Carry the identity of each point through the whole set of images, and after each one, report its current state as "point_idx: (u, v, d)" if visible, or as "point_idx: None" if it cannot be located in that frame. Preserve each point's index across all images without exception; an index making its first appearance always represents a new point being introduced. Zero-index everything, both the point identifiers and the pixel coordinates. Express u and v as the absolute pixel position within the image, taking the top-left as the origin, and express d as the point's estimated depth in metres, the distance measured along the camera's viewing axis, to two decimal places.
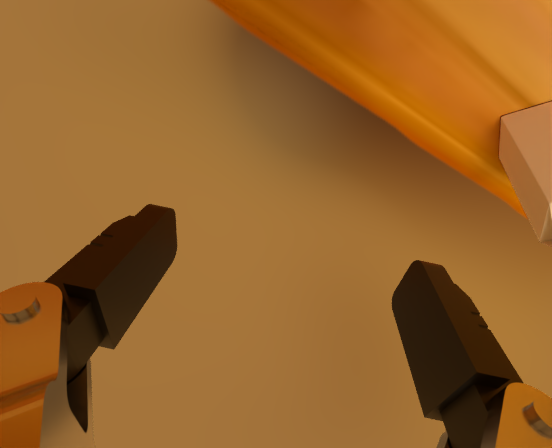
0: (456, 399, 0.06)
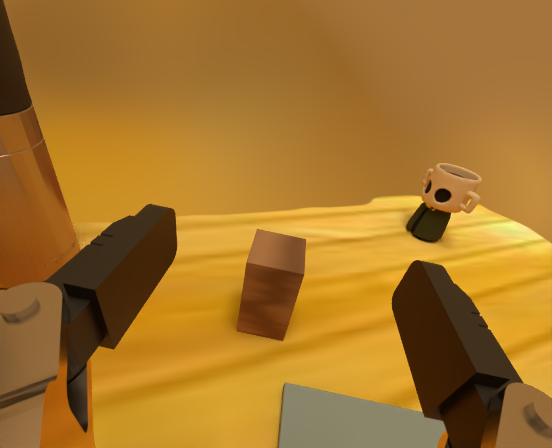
0: (456, 399, 0.06)
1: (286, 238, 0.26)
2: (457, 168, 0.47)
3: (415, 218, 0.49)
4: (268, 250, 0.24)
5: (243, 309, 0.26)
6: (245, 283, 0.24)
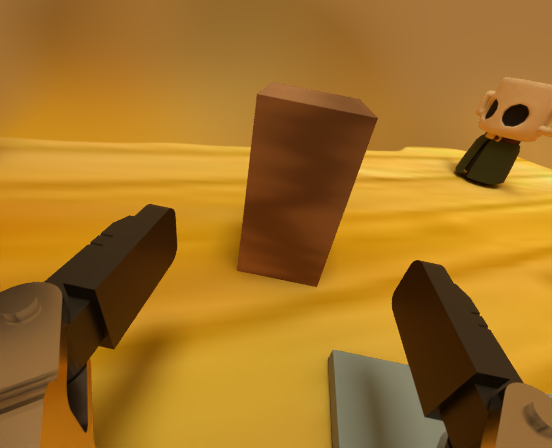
0: (456, 399, 0.06)
1: (326, 93, 0.15)
2: None
3: (469, 157, 0.38)
4: (298, 94, 0.13)
5: (249, 222, 0.14)
6: (253, 155, 0.12)
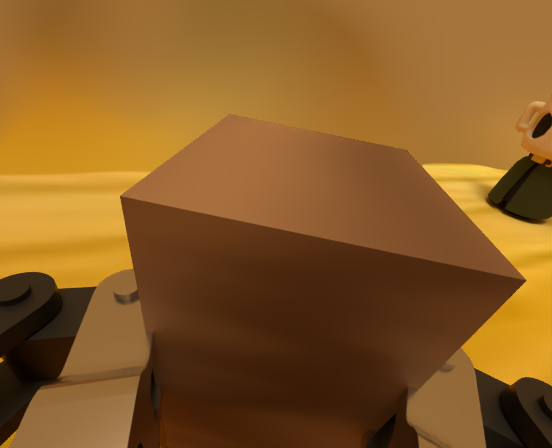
0: None
1: (339, 141, 0.07)
2: None
3: (509, 184, 0.30)
4: (273, 162, 0.05)
5: (175, 416, 0.07)
6: (153, 326, 0.05)
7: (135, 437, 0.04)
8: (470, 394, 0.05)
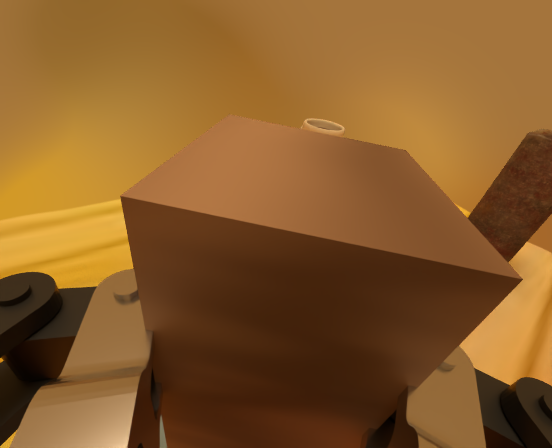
0: None
1: (338, 141, 0.07)
2: (325, 122, 0.47)
3: None
4: (272, 163, 0.05)
5: (174, 415, 0.07)
6: (153, 325, 0.05)
7: (135, 437, 0.04)
8: (470, 394, 0.05)
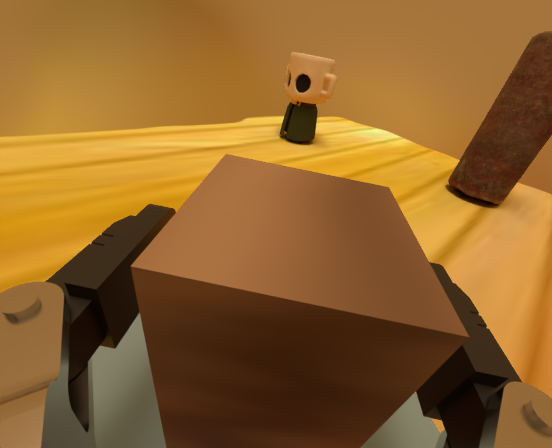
0: (455, 398, 0.06)
1: (326, 181, 0.08)
2: None
3: (285, 120, 0.46)
4: (263, 214, 0.06)
5: (175, 433, 0.07)
6: (157, 361, 0.05)
7: None
8: None
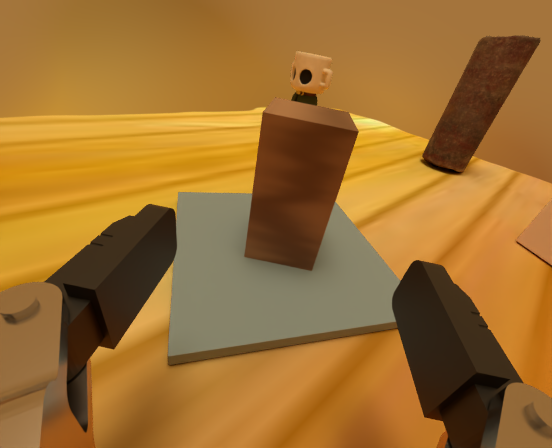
0: (456, 399, 0.06)
1: (320, 107, 0.17)
2: None
3: None
4: (296, 110, 0.15)
5: (255, 215, 0.17)
6: (259, 160, 0.15)
7: None
8: None
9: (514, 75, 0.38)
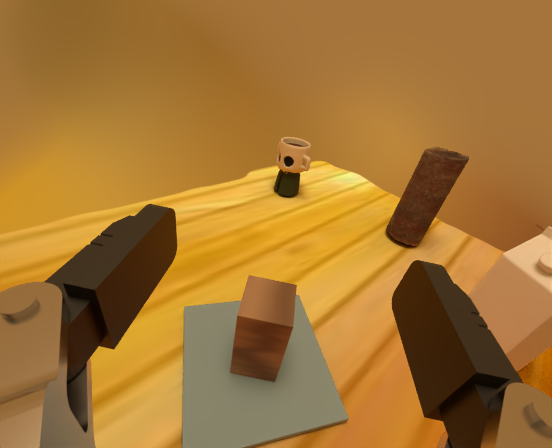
0: (456, 399, 0.06)
1: (277, 284, 0.27)
2: (296, 139, 0.63)
3: (277, 181, 0.65)
4: (259, 300, 0.25)
5: (235, 355, 0.27)
6: (236, 333, 0.25)
7: None
8: None
9: (450, 183, 0.47)
